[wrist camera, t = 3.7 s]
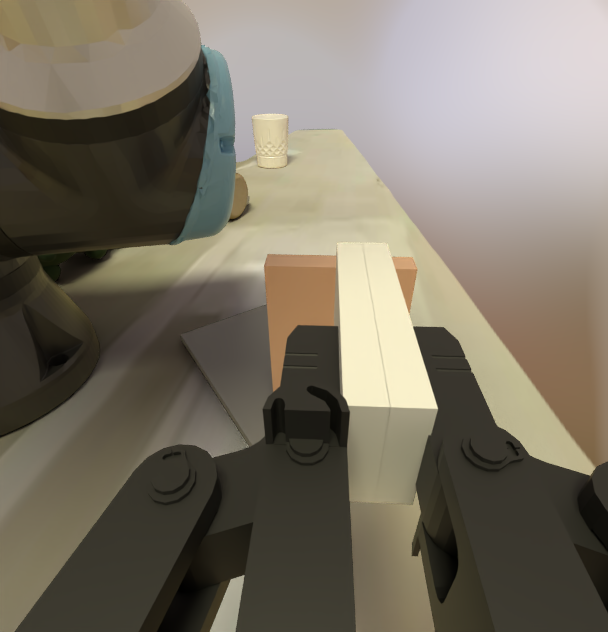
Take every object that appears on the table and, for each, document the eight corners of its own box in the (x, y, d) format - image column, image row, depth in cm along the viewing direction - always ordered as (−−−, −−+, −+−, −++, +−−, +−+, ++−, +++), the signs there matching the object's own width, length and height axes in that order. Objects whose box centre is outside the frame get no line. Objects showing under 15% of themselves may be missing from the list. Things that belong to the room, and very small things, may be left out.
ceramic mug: (228, 227, 58) (223, 174, 54) (184, 219, 61) (175, 169, 57) (261, 206, 66) (258, 159, 62) (220, 200, 69) (215, 154, 65)
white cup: (272, 171, 84) (270, 120, 79) (248, 165, 89) (244, 116, 83) (296, 164, 89) (295, 116, 84) (272, 159, 94) (269, 112, 88)
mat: (182, 341, 36) (180, 334, 35) (322, 291, 43) (323, 285, 42) (298, 524, 22) (298, 516, 22) (477, 405, 29) (480, 398, 29)
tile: (389, 422, 27) (417, 269, 20) (274, 417, 27) (264, 266, 20) (386, 405, 28) (411, 255, 21) (277, 400, 29) (268, 252, 22)
